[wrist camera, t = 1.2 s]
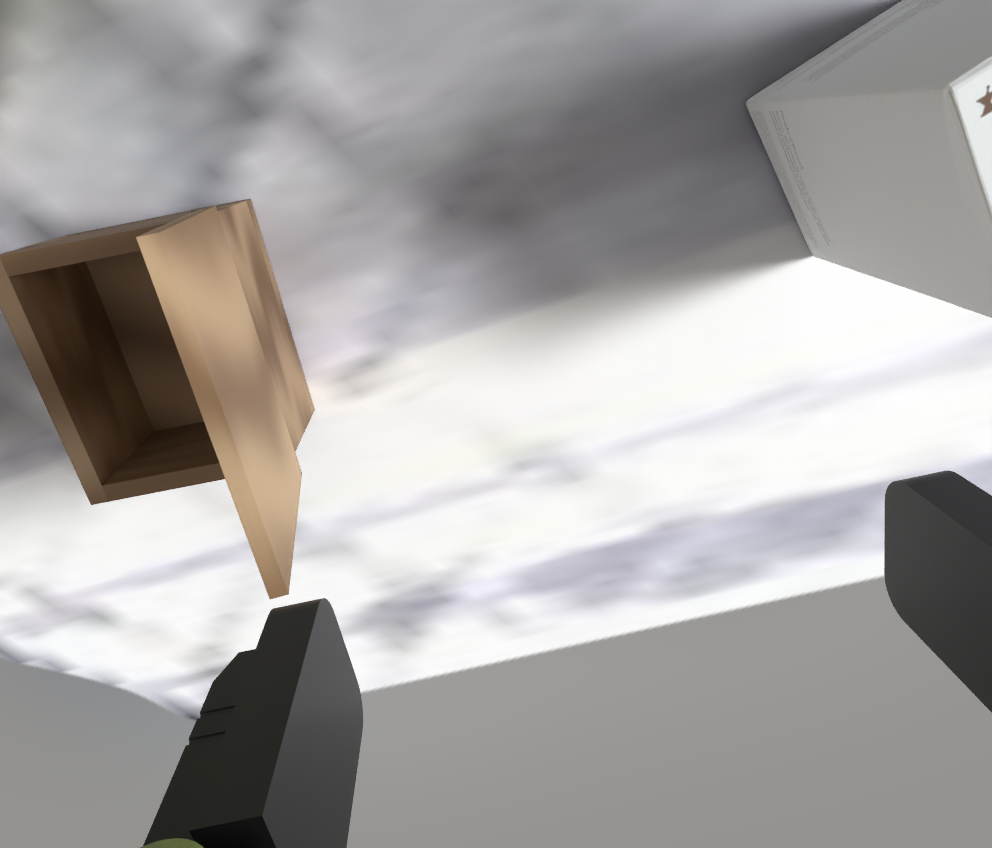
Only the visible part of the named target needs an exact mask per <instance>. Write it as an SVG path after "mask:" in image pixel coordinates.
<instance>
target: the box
mask: <svg viewBox="0 0 992 848" xmlns="http://www.w3.org/2000/svg"><path fill="white" fill-rule="evenodd" d="M216 208H217V211H218V214H219V217H220V220H221V224H222V227H223V230H224V233H225V236H226V239H227V242H228V245H229V248H230V251H231V255H232V258H233V261H234V264H235V267H236V270H237V273H238V276H239V279H240V282H241V286H242V289H243V292H244V295H245V298H246V301H247V304H248V307H249V310H250V314H251V317H252V320H253V323H254V326H255V329H256V332H257V335H258V338H259V341H260V345H261V348H262V351H263V354H264V357H265V360H266V363H267V366H268V369H269V372H270V376H271V379H272V382H273V385H274V388H275V391H276V394H277V397H278V400H279V404H280V407H281V410H282V413H283V416H284V419H285V422H286V425H287V428H288V431H289V435H290V438H291V441H292V444H293V447H294V450H295V451H296V449H297V447H298V445H299V442H300V440H301V438H302V436H303V434H304V432H305V429H306V427H307V425H308V423H309V421H310V419H311V416H312V414H313V412H314V410H315V409H314V406H313V403H312V399H311V396H310V393H309V390H308V386H307V383H306V380H305V376H304V373H303V370H302V366H301V363H300V360H299V357H298V353H297V350H296V347H295V343H294V340H293V337H292V333H291V330H290V327H289V324H288V320H287V317H286V314H285V310H284V307H283V304H282V300H281V297H280V294H279V291H278V287H277V284H276V281H275V277H274V274H273V271H272V267H271V264H270V261H269V258H268V254H267V251H266V248H265V244H264V241H263V238H262V234H261V231H260V228H259V225H258V221H257V218H256V215H255V211H254V208H253V205H252V201H251V199H247V200H242V201H237V202H232V203H227V204H222V205H217V206H216ZM189 213H191V211H187V212H182V213H177V214H172V215H167V216H162V217H157V218H152V219H147V220H142V221H137V222H131V223H126V224H121V225H116V226H111V227H106V228H101V229H96V230H91V231H86V232H81V233H76V234H71V235H66V236H63V237H59V238H56V239H52V240H49V241H45V242H42V243H38V244H35V245H31V246H28V247H25V248H21V249H18V250H14V251H11V252H7V253H4V254H0V307H1V309H2V312H3V314H4V316H5V318H6V320H7V322H8V325H9V327H10V329H11V331H12V333H13V336H14V338H15V340H16V342H17V344H18V346H19V349H20V351H21V353H22V355H23V357H24V360H25V362H26V364H27V366H28V368H29V370H30V373H31V375H32V377H33V379H34V381H35V384H36V386H37V388H38V390H39V392H40V394H41V397H42V399H43V401H44V403H45V405H46V408H47V410H48V412H49V414H50V416H51V418H52V421H53V423H54V425H55V427H56V429H57V432H58V434H59V436H60V438H61V440H62V442H63V445H64V447H65V449H66V451H67V453H68V456H69V458H70V460H71V462H72V464H73V466H74V469H75V471H76V473H77V475H78V477H79V480H80V482H81V484H82V486H83V488H84V490H85V493H86V495H87V497H88V499H89V501H90V503H91V505H93V504H98V503H103V502H109V501H114V500H119V499H124V498H129V497H134V496H139V495H145V494H150V493H155V492H160V491H165V490H170V489H175V488H181V487H186V486H191V485H196V484H201V483H206V482H212V481H217V480H222V479H225V477H224V474H223V471H222V468H221V466H220V463H219V460H218V458H217V455H216V452H215V450H214V447H213V444H212V441H211V439H210V436H209V433H208V431H207V428H206V425H205V422H204V420H203V417H202V414H201V412H200V409H199V406H198V404H197V401H196V398H195V395H194V393H193V390H192V387H191V385H190V382H189V379H188V376H187V374H186V371H185V368H184V366H183V363H182V360H181V358H180V355H179V352H178V349H177V347H176V344H175V341H174V339H173V336H172V333H171V331H170V328H169V325H168V322H167V320H166V317H165V314H164V312H163V309H162V306H161V303H160V301H159V298H158V295H157V293H156V290H155V287H154V285H153V282H152V279H151V276H150V274H149V271H148V268H147V266H146V263H145V260H144V258H143V255H142V252H141V249H140V247H139V244H138V241H137V239H136V237H138V236H140V235H142V234H144V233H147V232H149V231H151V230H153V229H156V228H158V227H160V226H162V225H165V224H167V223H169V222H171V221H174V220H176V219H178V218H180V217H183V216H185V215H187V214H189Z"/></svg>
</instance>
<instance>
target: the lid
mask: <svg viewBox="0 0 992 848" xmlns="http://www.w3.org/2000/svg"><path fill="white" fill-rule="evenodd" d="M136 239H137V241H138V244H139V247H140V249H141V252H142V255H143V258H144V260H145V263H146V266H147V268H148V271H149V274H150V276H151V279H152V282H153V285H154V287H155V290H156V293H157V295H158V298H159V301H160V303H161V306H162V309H163V312H164V314H165V317H166V320H167V322H168V325H169V328H170V331H171V333H172V336H173V339H174V341H175V344H176V347H177V349H178V352H179V355H180V358H181V360H182V363H183V366H184V368H185V371H186V374H187V376H188V379H189V382H190V385H191V387H192V390H193V393H194V395H195V398H196V401H197V404H198V406H199V409H200V412H201V414H202V417H203V420H204V422H205V425H206V428H207V431H208V433H209V436H210V439H211V441H212V444H213V447H214V450H215V452H216V455H217V458H218V460H219V463H220V466H221V468H222V471H223V474H224V477H225V479H226V482H227V485H228V487H229V490H230V493H231V495H232V498H233V501H234V504H235V506H236V509H237V512H238V514H239V517H240V520H241V523H242V525H243V528H244V531H245V533H246V536H247V539H248V541H249V544H250V547H251V550H252V552H253V555H254V558H255V560H256V563H257V566H258V568H259V571H260V574H261V577H262V579H263V582H264V585H265V587H266V590H267V593H268V596H269V598H270V599H273V598H277V597H280V596H284V595H288V594H289V585H290V576H291V567H292V558H293V549H294V540H295V531H296V522H297V513H298V504H299V495H300V486H301V477H302V472H301V469H300V466H299V462H298V459H297V456H296V453H295V450H294V447H293V444H292V441H291V438H290V435H289V431H288V428H287V425H286V422H285V419H284V416H283V413H282V410H281V407H280V404H279V400H278V397H277V394H276V391H275V388H274V385H273V382H272V379H271V376H270V372H269V369H268V366H267V363H266V360H265V357H264V354H263V351H262V348H261V345H260V341H259V338H258V335H257V332H256V329H255V326H254V323H253V320H252V317H251V314H250V310H249V307H248V304H247V301H246V298H245V295H244V292H243V289H242V286H241V282H240V279H239V276H238V273H237V270H236V267H235V264H234V261H233V258H232V255H231V251H230V248H229V245H228V242H227V239H226V236H225V233H224V230H223V227H222V224H221V220H220V217H219V214H218V211H217V208H216V206H211V207H205V208H200V209H195V210H191V213H189V214H187V215H185V216H183V217H180V218H178V219H176V220H174V221H171V222H169V223H167V224H165V225H162V226H160V227H158V228H156V229H153V230H151V231H149V232H147V233H144V234H142V235H140V236H138V237H136Z"/></svg>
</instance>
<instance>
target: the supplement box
mask: <svg viewBox="0 0 992 848" xmlns="http://www.w3.org/2000/svg"><path fill="white" fill-rule="evenodd" d="M746 106H747V108H748V110H749V113H750V115H751V118H752V120H753V122H754V124H755V127H756V129H757V131H758V133H759V136H760V138H761V140H762V143H763V145H764V147H765V149H766V152H767V154H768V156H769V158H770V161H771V163H772V165H773V168H774V170H775V172H776V175H777V177H778V179H779V181H780V184H781V186H782V188H783V191H784V193H785V195H786V198H787V200H788V202H789V204H790V207H791V209H792V211H793V214H794V216H795V218H796V220H797V223H798V225H799V227H800V230H801V232H802V234H803V236H804V239H805V241H806V243H807V245H808V247H809V249H810V251H811V253H812V255H813V256H814V257H817V258H820V259H823V260H826V261H829V262H832V263H835V264H838V265H841V266H843V267H847V268H850V269H852V270H855V271H858V272H861V273H864V274H867V275H870V276H873V277H876V278H879V279H882V280H885V281H888V282H891V283H893V284H896V285H899V286H902V287H905V288H908V289H911V290H914V291H917V292H920V293H923V294H926V295H929V296H931V297H934V298H937V299H940V300H943V301H946V302H949V303H952V304H954V305H957V306H959V307H962V308H965V309H968V310H971V311H974V312H977V313H980V314H983V315H985V316H988V317H991V318H992V0H902V1H900V2H899V3H897V4H896V5H894V6H892V7H891V8H889V9H888V10H886V11H885V12H883V13H882V14H880V15H878V16H877V17H875V18H874V19H872V20H871V21H869V22H867V23H866V24H864V25H863V26H861V27H860V28H858V29H856V30H855V31H853V32H852V33H850V34H849V35H847V36H845V37H844V38H842V39H841V40H839V41H838V42H836V43H834V44H833V45H831V46H830V47H828V48H827V49H825V50H824V51H822V52H821V53H819V54H817V55H816V56H814V57H813V58H811V59H810V60H808V61H807V62H805V63H803V64H802V65H800V66H799V67H797V68H796V69H794V70H793V71H791V72H789V73H788V74H786V75H785V76H783V77H782V78H780V79H779V80H777V81H776V82H774V83H772V84H771V85H769V86H768V87H766V88H765V89H763V90H762V91H760V92H758V93H757V94H755V95H754V96H752V97H751V98H750V99H748V100H747V101H746Z"/></svg>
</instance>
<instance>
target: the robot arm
mask: <svg viewBox="0 0 992 848" xmlns="http://www.w3.org/2000/svg"><path fill="white" fill-rule="evenodd" d="M885 583H886V587H887V591H888V594H889V597H890V599H891V602H892V604H893V606H894V607H895V609H896V611H897V613H898V614H899V615H900V617H901V618H902V619H903V621H904V622H905V623H906V624H907V625H908V626H909V627H910V628H911V629H912V630H913V631H914V632H915V633H916V634H917V635H918V636H919V637H920V638H921V639H922V640H923V641H924V642H925V644H926V645H927V646H928V647H929V648H930V649H931V650H932V651H933V652H934V653H935V654H936V655H937V656H938V657H939V658H940V659H941V660H942V661H943V662H944V663H945V664H946V665H947V666H948V667H949V668H950V669H951V670H952V672H953V673H954V674H955V675H956V676H957V677H958V678H959V679H960V680H961V681H962V682H963V683H964V684H965V685H966V686H967V687H968V688H969V689H970V690H971V691H972V692H973V693H974V694H975V696H977V698H978V699H979V700H980V701H981V702H982V703H983V704H984V705H985V706H986V707H987V708H988V709H989V710H990V711H991V712H992V496H991V495H990V494H988V493H986V492H985V491H983V490H982V489H980V488H979V487H977V486H976V485H974V484H972V483H971V482H969V481H968V480H966V479H965V478H963V477H962V476H960V475H959V474H957V473H955V472H952V471H942V472H937V473H932V474H928V475H923V476H918V477H913V478H908V479H903V480H899V481H894V482H892V483H891V484H890V485H889V486H888V488H887V490H886V494H885ZM200 715H201V717H200V718H199V719H197V721H196V723H195V725H194V728H193V730H192V732H191V735H190V737H189V745H187V746H186V747H185V749H184V751H183V754H182V756H181V758H180V761H179V763H178V765H177V768H176V770H175V772H174V775H173V777H172V779H171V782H170V784H169V787H168V789H167V791H166V794H165V796H164V798H163V801H162V803H161V805H160V808H159V810H158V812H157V815H156V817H155V819H154V822H153V824H152V827H151V829H150V831H149V833H148V836H147V838H146V840H145V843H144V845H143V847H141V848H346V846H347V839H348V832H349V825H350V817H351V809H352V803H353V795H354V788H355V781H356V773H357V766H358V758H359V752H360V744H361V737H362V728H363V709H362V700H361V694H360V689H359V685H358V682H357V679H356V676H355V673H354V670H353V667H352V664H351V661H350V658H349V655H348V652H347V649H346V646H345V643H344V640H343V637H342V634H341V631H340V628H339V625H338V622H337V620H336V617H335V614H334V611H333V608H332V606H331V604H330V603H329V601H328V600H327V599H325V598H323V599H318V600H313V601H308V602H303V603H298V604H294V605H289V606H284V607H279V608H274V609H272V610H271V611H270V613H269V615H268V618H267V620H266V623H265V626H264V629H263V631H262V634H261V637H260V639H259V642H258V645H257V647H256V649H254V650H249V651H244V652H239V653H238V654H237V655H236V656H235V658H234V659H233V660H232V661H231V662H230V663H229V664H228V666H227V667H226V668H225V669H224V670H223V671H222V672H221V673H220V675H219V676H218V677H217V678H216V679H215V680H214V681H213V683H212V686H211V688H210V690H209V693H208V695H207V697H206V700H205V702H204V704H203V707H202V709H201V711H200Z"/></svg>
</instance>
